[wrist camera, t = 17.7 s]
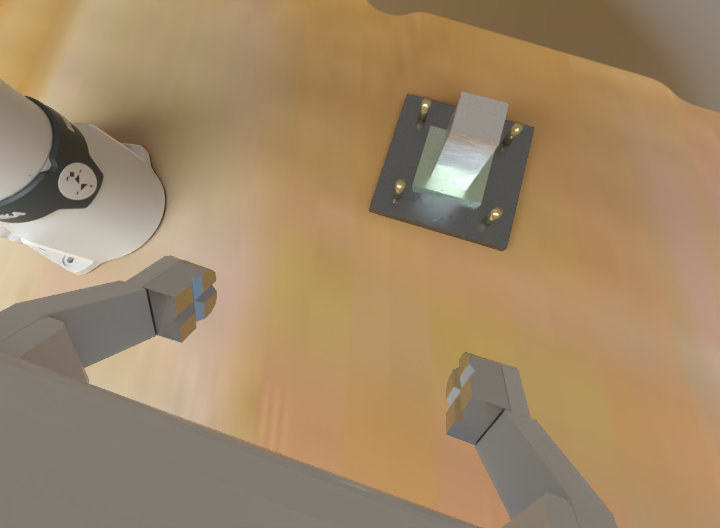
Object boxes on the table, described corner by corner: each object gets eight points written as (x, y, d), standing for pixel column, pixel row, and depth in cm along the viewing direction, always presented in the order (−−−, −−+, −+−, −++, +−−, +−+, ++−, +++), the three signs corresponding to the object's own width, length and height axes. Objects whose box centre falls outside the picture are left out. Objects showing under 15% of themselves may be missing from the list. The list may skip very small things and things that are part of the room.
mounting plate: (369, 211, 42) (369, 198, 38) (406, 100, 46) (410, 77, 42) (502, 251, 41) (517, 241, 37) (529, 133, 44) (546, 112, 40)
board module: (411, 187, 41) (426, 143, 32) (429, 129, 43) (448, 71, 34) (478, 206, 41) (514, 167, 31) (494, 146, 43) (531, 92, 33)
